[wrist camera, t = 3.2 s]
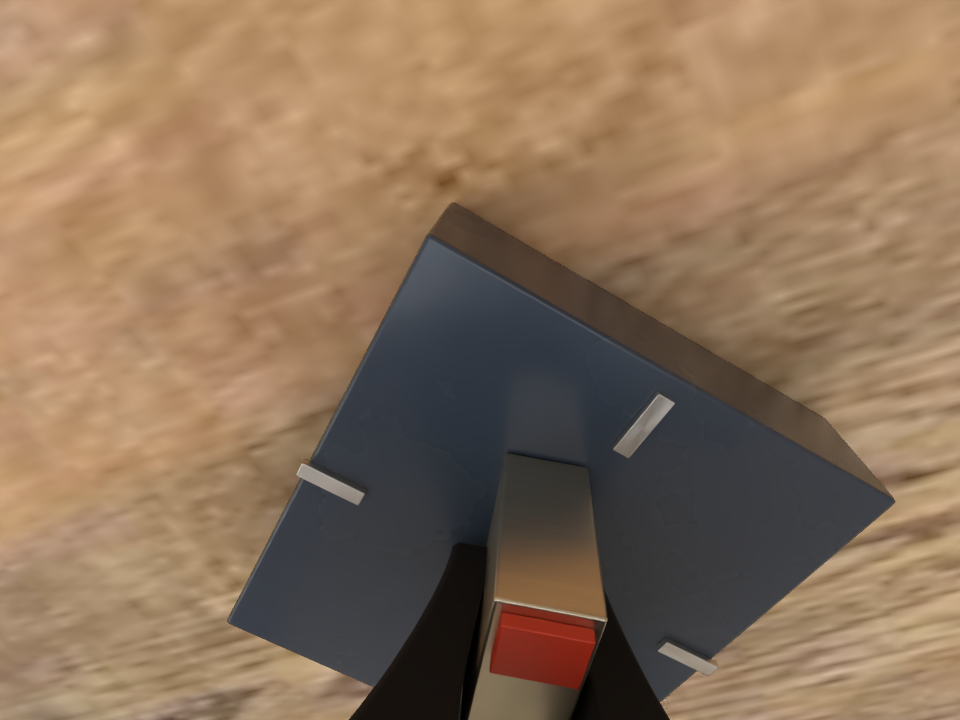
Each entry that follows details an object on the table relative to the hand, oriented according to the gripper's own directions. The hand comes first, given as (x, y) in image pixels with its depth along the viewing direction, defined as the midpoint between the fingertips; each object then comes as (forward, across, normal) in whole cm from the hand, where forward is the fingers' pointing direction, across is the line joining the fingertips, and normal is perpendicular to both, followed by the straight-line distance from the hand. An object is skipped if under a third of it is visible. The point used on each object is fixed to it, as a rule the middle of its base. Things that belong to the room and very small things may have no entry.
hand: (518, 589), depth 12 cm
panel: (+3, 0, 0) cm, 3 cm away
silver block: (0, 0, 0) cm, 0 cm away
